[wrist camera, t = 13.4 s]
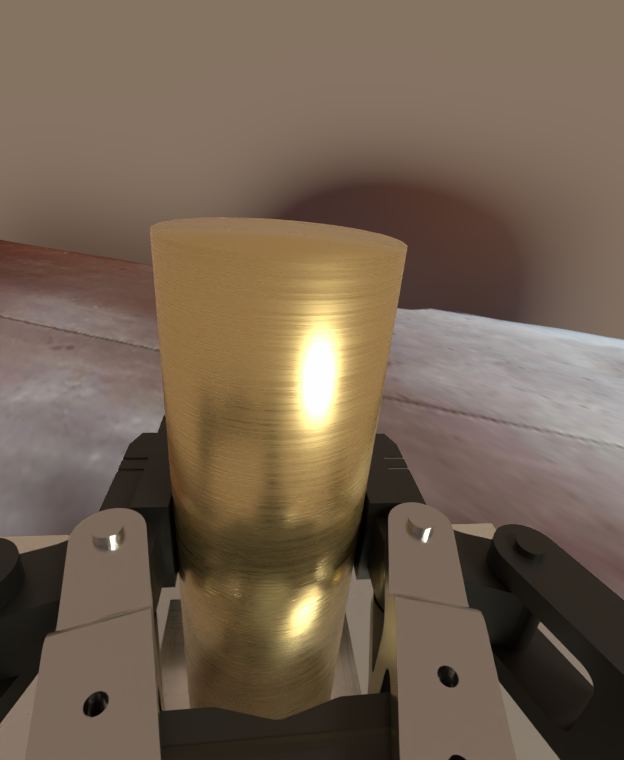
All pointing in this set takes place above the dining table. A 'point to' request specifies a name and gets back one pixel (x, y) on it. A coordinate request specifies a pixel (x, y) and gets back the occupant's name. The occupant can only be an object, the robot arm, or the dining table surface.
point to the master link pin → (269, 442)
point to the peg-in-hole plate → (534, 756)
